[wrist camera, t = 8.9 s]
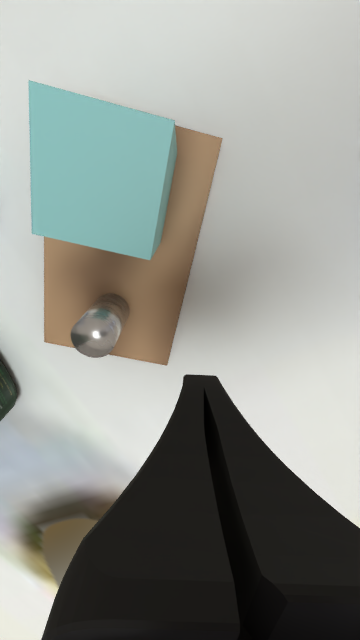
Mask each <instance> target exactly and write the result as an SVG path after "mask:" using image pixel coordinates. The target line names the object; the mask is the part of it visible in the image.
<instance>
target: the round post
mask: <svg viewBox="0 0 360 640" xmlns="http://www.w3.org/2000/svg"><path fill="white" fill-rule="evenodd" d="M129 313H130V309H129V305H128V303H127V302H126V300H125V299H124V298H122V297H121V296H119V295H117V294H113V293H108V294H104V295H102V296H100V297H99V298H98V299H97V300H96V302H95V303H94V304H93V305H92V306H91V307H90V308H89V309H88V310H87V311H86V313H85V314H84V315H83V316H82V317H81V318H80V319H79V320H78V321H77V323H76V324H75V325H74V326H73V328H72V330H71V341H72V343H73V345H74V347H75V348H76V349H77V350H78V351H79V352H80V353H82V354H84V355H86V356H89V357H94V358H98V357H103V356H106V355H107V354H109V353H110V352H111V351H112V350H113V348H114V346H115V344H116V342H117V340H118V338H119V336H120V334H121V331H122V329H123V327H124V325H125V323H126V321H127V319H128V317H129Z"/></svg>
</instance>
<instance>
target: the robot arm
mask: <svg viewBox="0 0 360 640" xmlns="http://www.w3.org/2000/svg"><path fill="white" fill-rule="evenodd" d="M41 640H360V528H359V527H357V526H356V525H355V524H353V523H352V522H351V521H349V520H348V519H347V518H345V517H344V516H343V515H342V514H340V513H339V512H338V511H337V510H335V509H334V508H333V507H332V506H331V505H329V504H328V503H327V502H326V501H325V500H323V499H322V498H321V497H320V496H319V495H317V494H316V493H315V492H314V491H313V490H312V489H311V488H309V487H308V486H307V485H306V484H305V483H304V482H303V481H302V480H301V479H300V478H299V477H298V476H296V475H295V474H294V473H293V472H292V471H291V470H290V469H289V468H288V467H287V466H286V465H285V464H284V463H283V462H282V461H281V460H280V459H279V458H278V457H277V456H276V455H275V454H274V453H273V452H272V451H271V450H270V449H269V447H268V446H267V445H266V444H265V443H264V442H263V441H262V440H261V438H260V437H259V436H258V435H257V434H256V432H255V431H254V430H253V429H252V428H251V426H250V425H249V424H248V422H247V421H246V420H245V419H244V417H243V416H242V414H241V413H240V412H239V410H238V409H237V408H236V406H235V405H234V403H233V402H232V400H231V399H230V397H229V396H228V394H227V393H226V391H225V389H224V388H223V386H222V384H221V383H220V381H219V379H218V378H217V377H216V376H208V375H187V374H186V375H185V376H184V377H183V386H182V390H181V393H180V396H179V399H178V401H177V404H176V407H175V409H174V411H173V414H172V416H171V418H170V420H169V422H168V424H167V426H166V428H165V430H164V432H163V434H162V435H161V437H160V439H159V441H158V442H157V444H156V446H155V447H154V449H153V451H152V452H151V454H150V455H149V457H148V458H147V460H146V461H145V463H144V464H143V466H142V467H141V469H140V470H139V471H138V473H137V474H136V476H135V477H134V478H133V480H132V481H131V482H130V483H129V485H128V486H127V487H126V489H125V490H124V491H123V492H122V494H121V495H120V496H119V498H118V499H117V500H116V501H115V503H114V504H113V505H112V506H111V507H110V509H109V510H108V511H107V512H106V513H105V514H104V515H103V517H102V518H101V519H100V520H99V521H98V522H97V523H96V524H95V526H94V527H93V528H92V529H91V530H90V531H89V532H88V534H87V535H86V536H85V537H84V538H83V540H82V542H81V543H80V545H79V547H78V549H77V551H76V553H75V555H74V557H73V559H72V561H71V563H70V565H69V567H68V569H67V571H66V573H65V575H64V577H63V580H62V582H61V584H60V587H59V589H58V592H57V594H56V597H55V599H54V602H53V606H52V609H51V612H50V615H49V618H48V621H47V624H46V627H45V630H44V633H43V636H42V639H41Z"/></svg>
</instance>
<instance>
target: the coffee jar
mask: <svg viewBox="0 0 360 640" xmlns="http://www.w3.org/2000/svg"><path fill="white" fill-rule="evenodd" d="M16 399H17V392H16V388H15V385H14V383H13V381H12V379H11V377H10V375H9V374H8V371H7V370H6V368H5V367H4V365H3V364H2V362H1V361H0V421H1V420H2V419H3V418H4V417H5V416H6V414H7V413H8V412H9V411H10V410H11V409H12V407H13V406H14V405H15V402H16Z"/></svg>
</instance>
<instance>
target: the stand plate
mask: <svg viewBox="0 0 360 640" xmlns="http://www.w3.org/2000/svg"><path fill="white" fill-rule="evenodd" d="M175 131H176V143H177V157H176V162H175V168H174V173H173V178H172V184H171V189H170V195H169V200H168V205H167V211H166V216H165V222H164V227H163V232H162V238H161V243H160V245H159V246H158V248H157V250H156V251H155V253H154V255H153V257H152V258H151V260H146V259H142V258H138V257H133V256H129V255H124V254H120V253H115V252H111V251H106V250H102V249H98V248H93V247H89V246H84V245H80V244H75V243H71V242H67V241H62V240H58V239H53V238H49V237H44V342H46V343H52V344H57V345H62V346H67V347H73V348H75V347H74V345H73V343H72V341H71V330H72V328H73V326H74V325H75V324H76V323H77V321H78V320H79V319H80V318H81V317H82V316H83V315H84V314H85V313H86V311H87V310H88V309H89V308H90V307H91V306H92V305H93V304H94V303H95V302H96V300H97V299H98V298H99V297H100V296H102V295H104V294H108V293H113V294H117V295H119V296H121V297H122V298H124V299H125V300H126V302H127V303H128V305H129V309H130V313H129V317H128V319H127V321H126V323H125V325H124V327H123V329H122V331H121V334H120V336H119V338H118V340H117V342H116V344H115V346H114V348H113V350H112V351H111V352H110V353H109V355H115V356H120V357H125V358H130V359H135V360H141V361H146V362H151V363H156V364H162V365H167V363H168V359H169V355H170V351H171V347H172V343H173V339H174V335H175V331H176V327H177V322H178V318H179V314H180V310H181V306H182V302H183V298H184V294H185V290H186V286H187V282H188V277H189V273H190V269H191V265H192V261H193V257H194V253H195V249H196V245H197V241H198V236H199V232H200V228H201V224H202V220H203V216H204V212H205V208H206V204H207V200H208V196H209V191H210V187H211V183H212V179H213V175H214V171H215V167H216V163H217V159H218V155H219V150H220V146H221V142H222V138H219V137H215V136H211V135H208V134H204V133H200V132H197V131H193V130H190V129H186V128H182V127H179V126H175Z"/></svg>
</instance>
